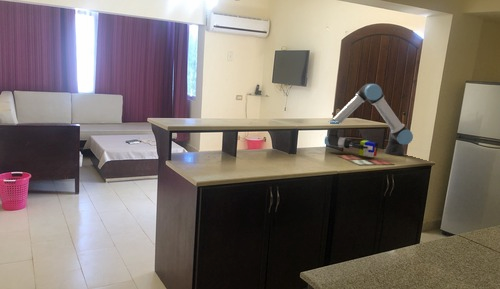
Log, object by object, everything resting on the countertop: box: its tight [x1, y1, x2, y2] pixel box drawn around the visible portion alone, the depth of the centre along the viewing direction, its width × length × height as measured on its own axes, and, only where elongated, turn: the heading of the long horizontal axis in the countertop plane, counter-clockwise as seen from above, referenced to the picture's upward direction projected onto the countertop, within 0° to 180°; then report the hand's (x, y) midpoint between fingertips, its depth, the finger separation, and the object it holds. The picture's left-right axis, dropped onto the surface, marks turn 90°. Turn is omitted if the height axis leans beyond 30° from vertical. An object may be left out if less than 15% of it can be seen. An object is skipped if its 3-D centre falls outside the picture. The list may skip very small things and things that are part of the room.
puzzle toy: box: [358, 139, 379, 158], centre depth 289 cm, size 10×10×10 cm
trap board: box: [336, 154, 395, 166], centre depth 281 cm, size 29×29×1 cm
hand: (374, 147), depth 287 cm, fingers closed on puzzle toy, 11 cm apart
